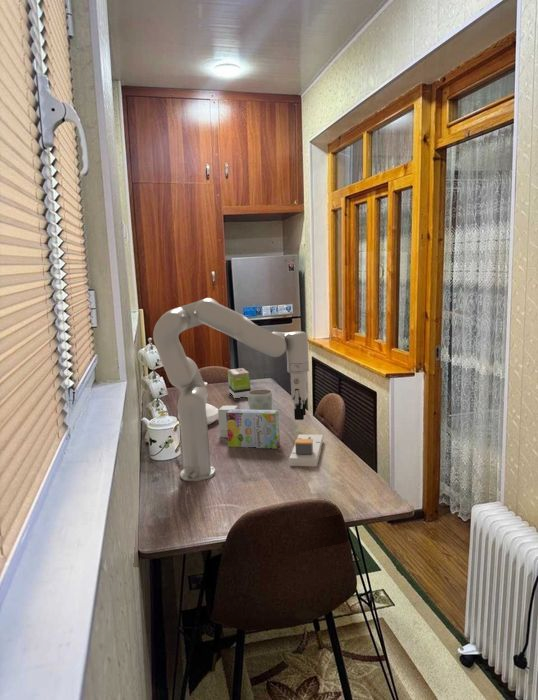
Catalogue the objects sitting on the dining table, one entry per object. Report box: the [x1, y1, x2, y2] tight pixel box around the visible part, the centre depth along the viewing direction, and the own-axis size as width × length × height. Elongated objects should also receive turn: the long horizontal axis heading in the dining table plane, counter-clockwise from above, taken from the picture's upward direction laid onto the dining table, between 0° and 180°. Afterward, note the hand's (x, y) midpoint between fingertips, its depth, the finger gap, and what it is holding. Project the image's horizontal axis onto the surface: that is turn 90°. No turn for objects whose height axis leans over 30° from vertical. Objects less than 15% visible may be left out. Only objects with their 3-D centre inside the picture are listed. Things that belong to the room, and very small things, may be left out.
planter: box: [247, 388, 273, 410], centre depth 251 cm, size 12×12×11 cm
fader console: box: [289, 434, 324, 467], centre depth 193 cm, size 26×10×3 cm, turn 169°
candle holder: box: [177, 381, 219, 426], centre depth 239 cm, size 20×20×19 cm
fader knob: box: [294, 438, 313, 454], centre depth 185 cm, size 4×6×5 cm, turn 79°
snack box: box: [226, 408, 281, 450], centre depth 203 cm, size 21×6×15 cm, turn 74°
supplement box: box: [218, 405, 239, 438], centre depth 219 cm, size 7×7×13 cm
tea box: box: [227, 367, 252, 399], centre depth 288 cm, size 15×10×15 cm, turn 17°
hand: (300, 416), depth 176 cm, fingers open, 4 cm apart
